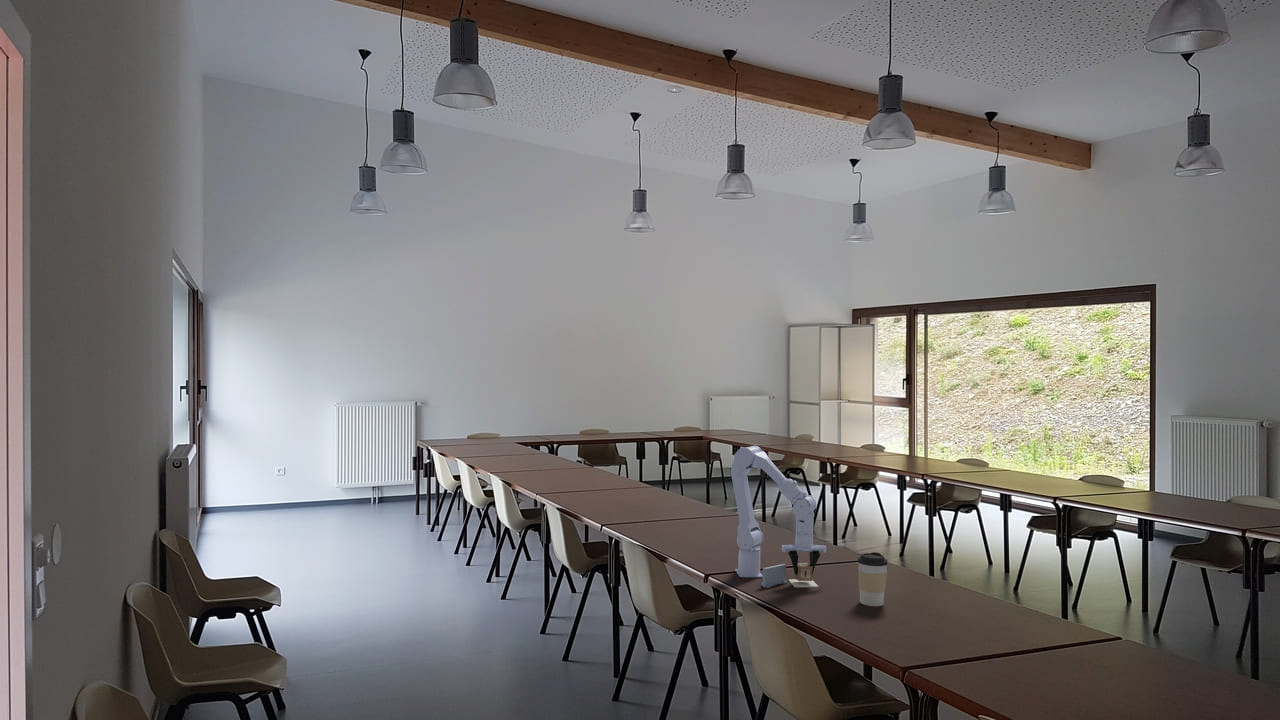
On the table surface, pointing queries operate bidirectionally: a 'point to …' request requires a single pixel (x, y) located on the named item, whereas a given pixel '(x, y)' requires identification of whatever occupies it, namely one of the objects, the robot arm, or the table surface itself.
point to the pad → (802, 583)
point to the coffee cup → (872, 578)
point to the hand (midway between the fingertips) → (803, 573)
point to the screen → (774, 575)
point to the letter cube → (804, 572)
